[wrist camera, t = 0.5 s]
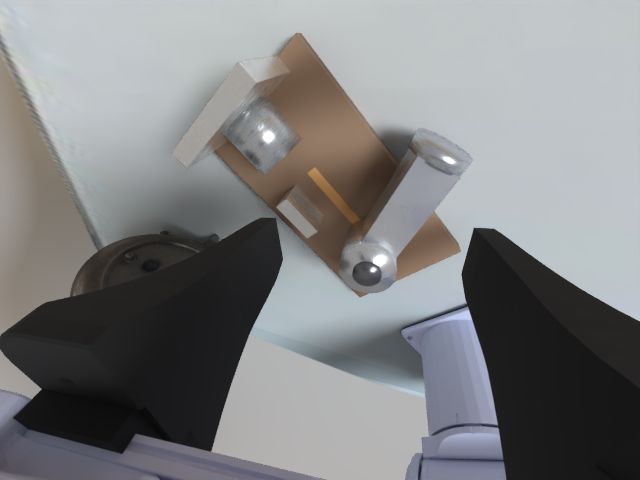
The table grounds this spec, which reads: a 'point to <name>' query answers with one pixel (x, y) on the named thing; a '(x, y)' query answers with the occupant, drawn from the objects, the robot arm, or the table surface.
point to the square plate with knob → (251, 131)
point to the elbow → (401, 211)
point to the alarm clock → (134, 260)
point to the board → (333, 164)
